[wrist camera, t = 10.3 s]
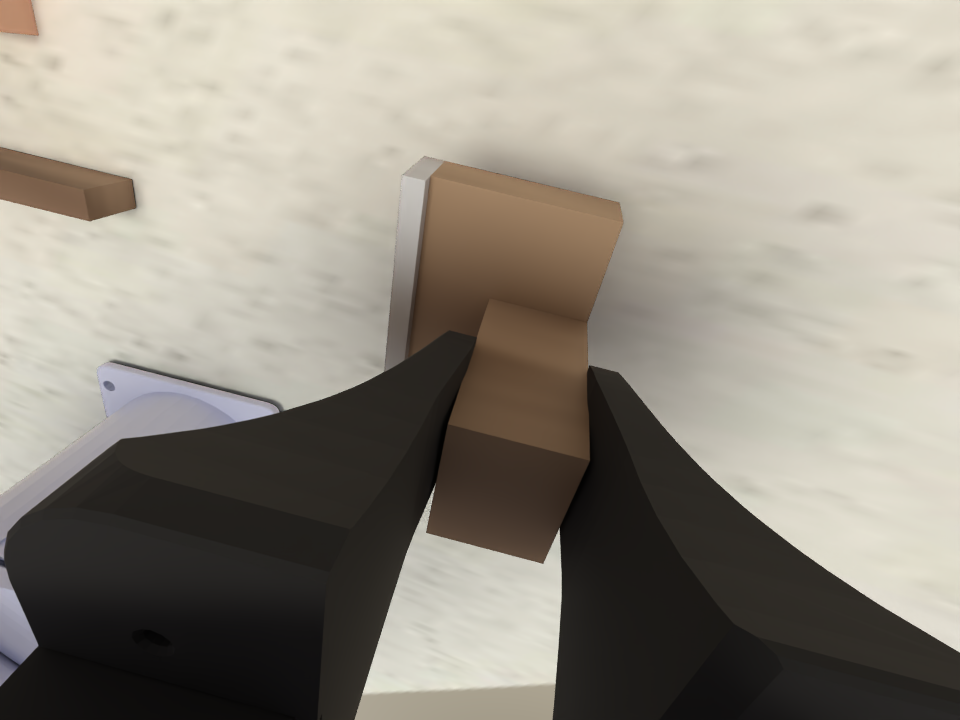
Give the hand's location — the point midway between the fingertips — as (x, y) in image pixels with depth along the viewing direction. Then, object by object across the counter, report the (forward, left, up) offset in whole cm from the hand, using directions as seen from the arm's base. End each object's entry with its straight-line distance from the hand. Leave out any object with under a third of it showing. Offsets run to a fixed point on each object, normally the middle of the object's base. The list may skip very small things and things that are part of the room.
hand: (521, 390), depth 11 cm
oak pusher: (0, +1, -4) cm, 4 cm away
